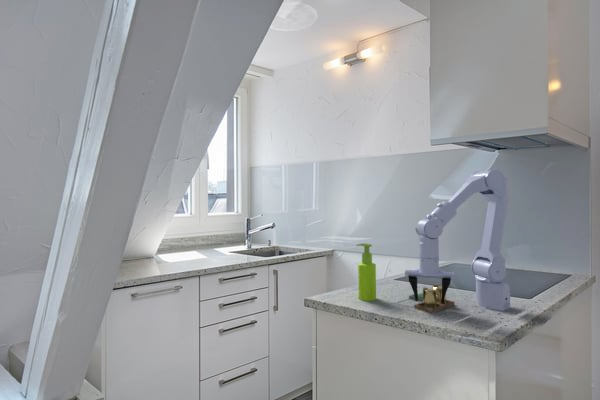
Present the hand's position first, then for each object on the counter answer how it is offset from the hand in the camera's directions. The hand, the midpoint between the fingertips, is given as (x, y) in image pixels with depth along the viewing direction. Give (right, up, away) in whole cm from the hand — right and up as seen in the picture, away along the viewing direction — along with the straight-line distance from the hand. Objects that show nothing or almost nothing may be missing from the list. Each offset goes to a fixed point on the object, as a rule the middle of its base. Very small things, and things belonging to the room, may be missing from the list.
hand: (429, 301), depth 122 cm
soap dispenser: (-18, -4, +13) cm, 22 cm away
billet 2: (+5, -3, +4) cm, 6 cm away
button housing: (0, -3, +12) cm, 12 cm away
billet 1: (0, -3, 0) cm, 3 cm away
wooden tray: (+2, -3, +2) cm, 5 cm away
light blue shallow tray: (-4, -3, +6) cm, 9 cm away
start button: (0, -3, +12) cm, 12 cm away
